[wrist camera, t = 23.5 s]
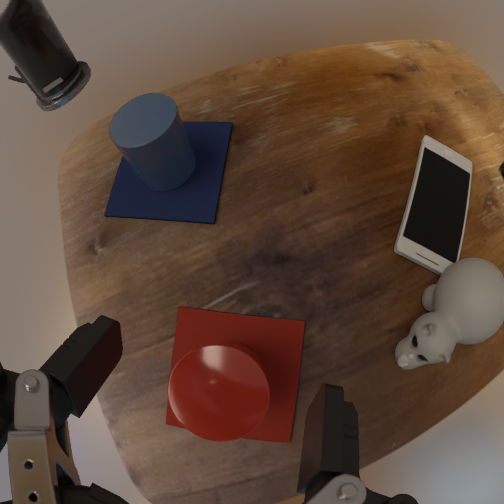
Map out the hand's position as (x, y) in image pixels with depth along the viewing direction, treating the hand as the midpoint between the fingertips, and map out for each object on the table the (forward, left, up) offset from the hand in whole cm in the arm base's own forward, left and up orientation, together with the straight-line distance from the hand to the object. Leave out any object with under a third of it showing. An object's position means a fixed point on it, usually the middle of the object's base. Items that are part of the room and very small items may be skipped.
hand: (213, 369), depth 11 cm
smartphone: (+19, +16, -15) cm, 29 cm away
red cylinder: (-1, -2, -15) cm, 15 cm away
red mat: (-1, -2, -15) cm, 15 cm away
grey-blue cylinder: (-10, +17, -15) cm, 25 cm away
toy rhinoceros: (+17, +4, -15) cm, 23 cm away
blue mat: (-10, +17, -15) cm, 25 cm away
